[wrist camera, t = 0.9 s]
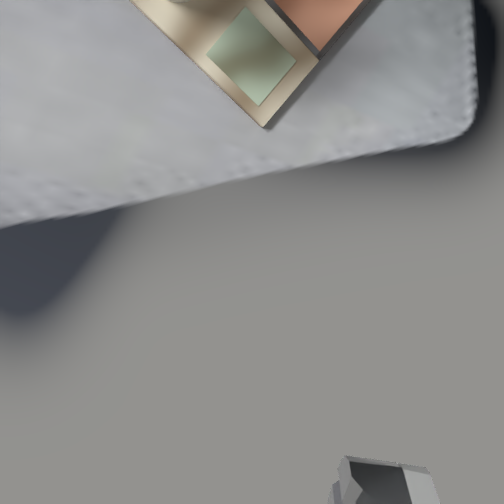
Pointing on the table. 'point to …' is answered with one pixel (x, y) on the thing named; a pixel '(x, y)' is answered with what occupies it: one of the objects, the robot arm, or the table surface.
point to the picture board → (254, 42)
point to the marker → (179, 1)
